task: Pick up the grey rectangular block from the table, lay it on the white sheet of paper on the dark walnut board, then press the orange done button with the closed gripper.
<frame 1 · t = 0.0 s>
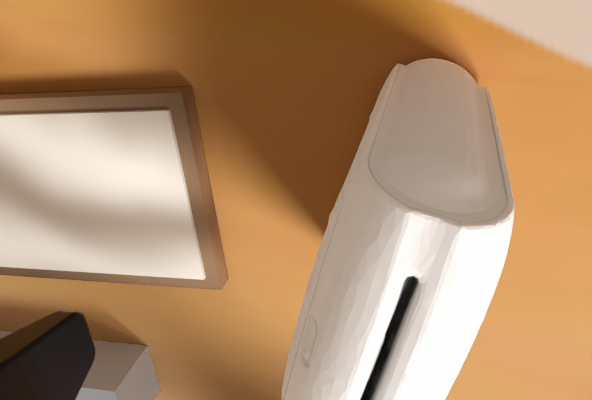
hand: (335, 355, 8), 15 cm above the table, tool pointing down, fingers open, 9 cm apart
grey rectangular block: (56, 357, 34), on the table
photo printer: (405, 175, 23), on the table
drawing board: (35, 187, 28), on the table
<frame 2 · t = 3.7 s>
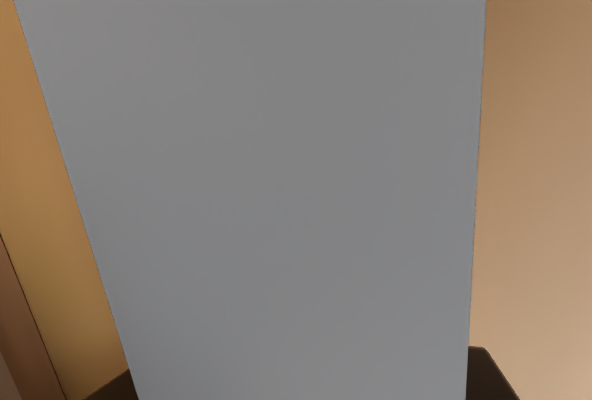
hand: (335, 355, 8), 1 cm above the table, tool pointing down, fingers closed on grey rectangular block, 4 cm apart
grey rectangular block: (348, 306, 9), on the table, touching gripper
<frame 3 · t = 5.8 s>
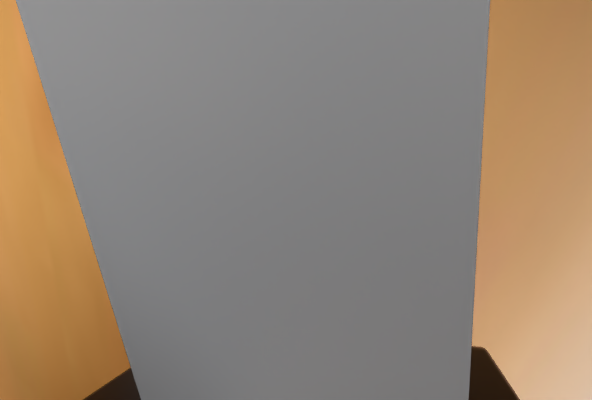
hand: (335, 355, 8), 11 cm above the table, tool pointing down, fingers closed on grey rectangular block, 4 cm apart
grey rectangular block: (350, 308, 9), point 10 cm above the table, touching gripper
when the fingers open (3 cm above the table, at t = 8.1 s): grey rectangular block stays where it is, resting on drawing board.
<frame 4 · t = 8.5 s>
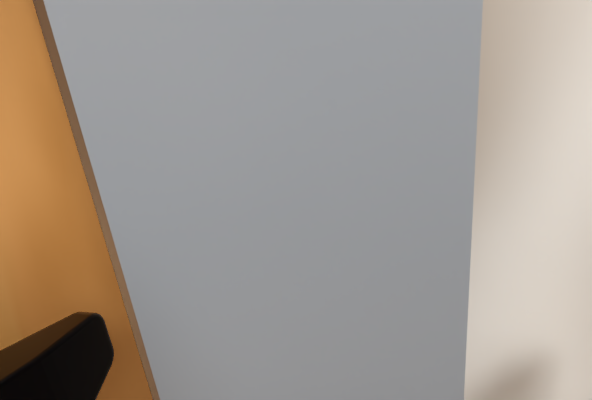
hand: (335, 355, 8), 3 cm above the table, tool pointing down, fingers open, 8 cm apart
grey rectangular block: (351, 296, 10), point 1 cm above the table, touching drawing board
drawing board: (359, 258, 11), on the table
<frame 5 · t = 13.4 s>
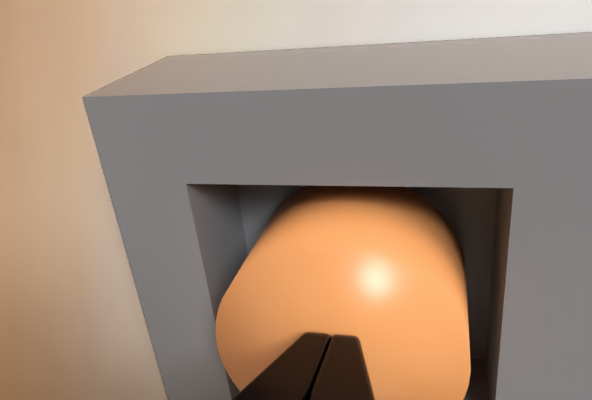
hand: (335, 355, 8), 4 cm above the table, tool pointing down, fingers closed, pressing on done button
button housing: (368, 230, 12), on the table
done button: (348, 308, 9), point 3 cm above the table, slide at 0.8 cm, touching gripper
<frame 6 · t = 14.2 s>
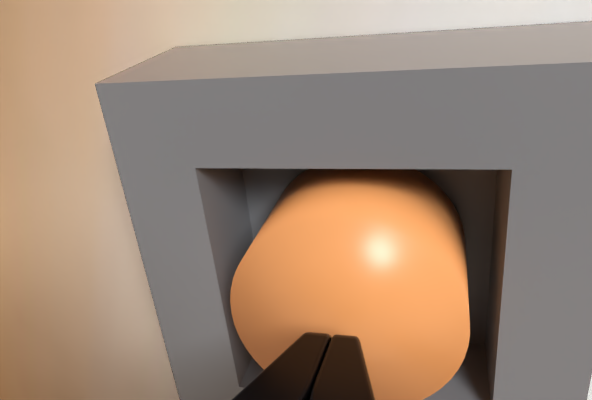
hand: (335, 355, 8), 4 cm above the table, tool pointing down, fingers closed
button housing: (371, 217, 12), on the table
done button: (355, 279, 10), point 2 cm above the table, slide at 1.1 cm
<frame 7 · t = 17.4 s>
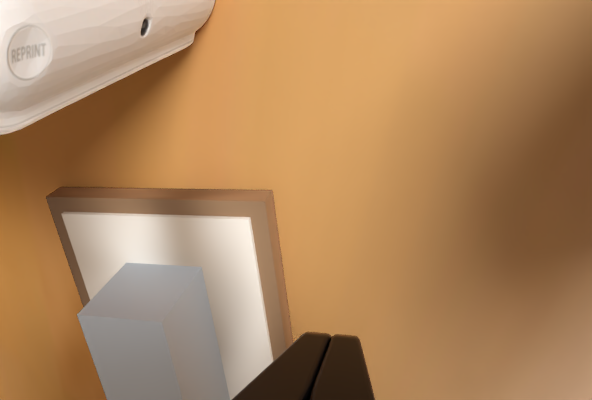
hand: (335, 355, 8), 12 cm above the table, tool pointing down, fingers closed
grey rectangular block: (193, 385, 26), point 1 cm above the table, touching drawing board
drawing board: (202, 367, 27), on the table
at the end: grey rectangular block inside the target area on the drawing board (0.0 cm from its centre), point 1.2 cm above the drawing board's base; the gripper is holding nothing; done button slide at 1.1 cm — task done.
